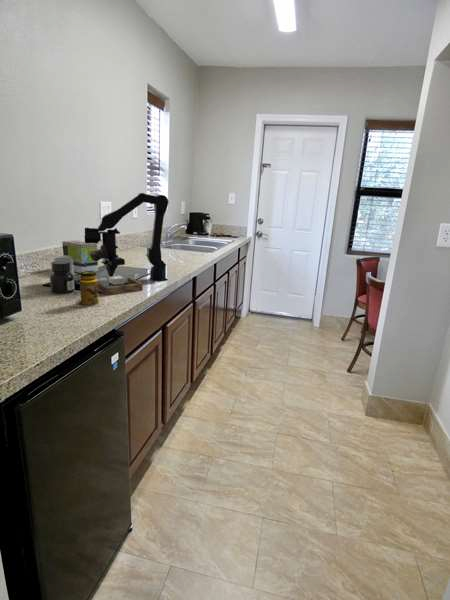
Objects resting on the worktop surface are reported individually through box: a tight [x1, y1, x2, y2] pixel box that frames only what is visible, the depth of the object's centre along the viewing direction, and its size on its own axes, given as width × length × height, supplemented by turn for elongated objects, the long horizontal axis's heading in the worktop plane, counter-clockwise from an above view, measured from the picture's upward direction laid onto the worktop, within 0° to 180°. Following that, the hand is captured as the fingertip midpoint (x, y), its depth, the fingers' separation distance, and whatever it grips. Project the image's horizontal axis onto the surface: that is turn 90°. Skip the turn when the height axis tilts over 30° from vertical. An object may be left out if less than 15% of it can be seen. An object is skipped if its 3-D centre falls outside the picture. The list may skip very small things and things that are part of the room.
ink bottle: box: [49, 260, 76, 295], centre depth 141 cm, size 10×9×12 cm
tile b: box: [96, 277, 110, 285], centre depth 154 cm, size 5×5×3 cm
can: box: [53, 254, 75, 276], centre depth 153 cm, size 8×8×12 cm
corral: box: [98, 277, 143, 296], centre depth 149 cm, size 16×12×3 cm
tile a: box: [108, 275, 125, 285], centre depth 159 cm, size 5×5×3 cm
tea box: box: [62, 240, 99, 274], centre depth 178 cm, size 15×10×15 cm
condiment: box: [73, 271, 101, 308], centre depth 127 cm, size 7×8×12 cm
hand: (110, 277), depth 162 cm, fingers closed
